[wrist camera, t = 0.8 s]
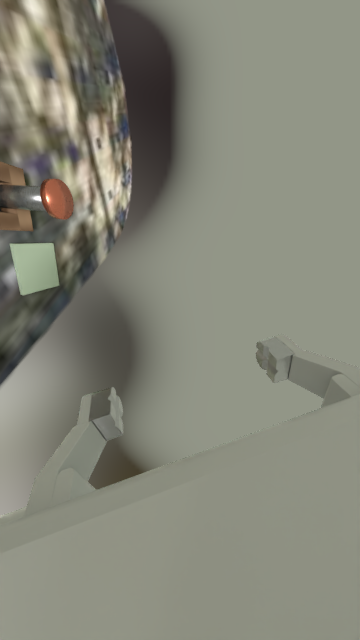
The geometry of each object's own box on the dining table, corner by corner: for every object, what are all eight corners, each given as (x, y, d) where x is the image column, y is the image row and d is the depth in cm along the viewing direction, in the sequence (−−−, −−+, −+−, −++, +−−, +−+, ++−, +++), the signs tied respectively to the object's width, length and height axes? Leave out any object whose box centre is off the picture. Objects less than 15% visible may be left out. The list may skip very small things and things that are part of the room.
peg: (4, 215, 45) (75, 220, 42) (-29, 211, 39) (50, 217, 36) (-4, 180, 43) (71, 184, 40) (-40, 171, 37) (44, 174, 34)
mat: (57, 285, 63) (59, 285, 62) (20, 294, 52) (23, 295, 52) (50, 242, 58) (53, 243, 58) (9, 243, 47) (12, 243, 47)
